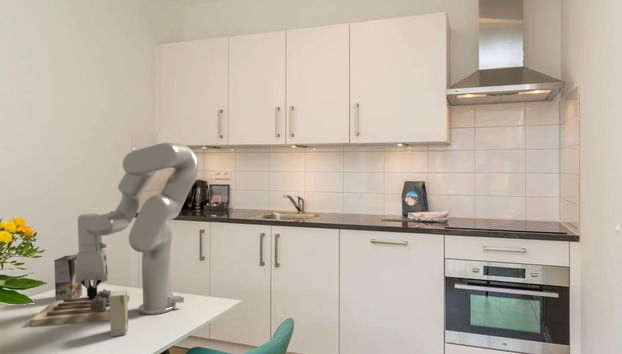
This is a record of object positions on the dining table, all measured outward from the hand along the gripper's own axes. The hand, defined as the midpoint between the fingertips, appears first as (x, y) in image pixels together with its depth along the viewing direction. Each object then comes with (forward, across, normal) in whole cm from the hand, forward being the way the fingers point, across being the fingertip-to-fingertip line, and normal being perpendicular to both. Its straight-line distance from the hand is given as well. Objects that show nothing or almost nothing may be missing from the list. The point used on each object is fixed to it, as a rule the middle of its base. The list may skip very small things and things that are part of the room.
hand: (92, 298), depth 156 cm
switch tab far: (+1, -4, 0) cm, 4 cm away
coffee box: (+4, +12, -14) cm, 19 cm away
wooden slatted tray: (+3, +2, +5) cm, 6 cm away
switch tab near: (+1, -5, +9) cm, 10 cm away
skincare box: (+4, -16, +27) cm, 31 cm away
